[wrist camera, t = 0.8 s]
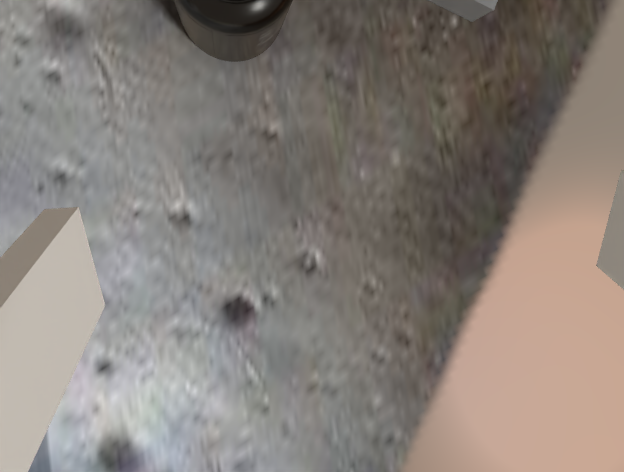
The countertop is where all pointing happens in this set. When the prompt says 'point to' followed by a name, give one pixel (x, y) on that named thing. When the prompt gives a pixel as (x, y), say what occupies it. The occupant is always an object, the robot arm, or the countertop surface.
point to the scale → (467, 7)
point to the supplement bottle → (233, 25)
